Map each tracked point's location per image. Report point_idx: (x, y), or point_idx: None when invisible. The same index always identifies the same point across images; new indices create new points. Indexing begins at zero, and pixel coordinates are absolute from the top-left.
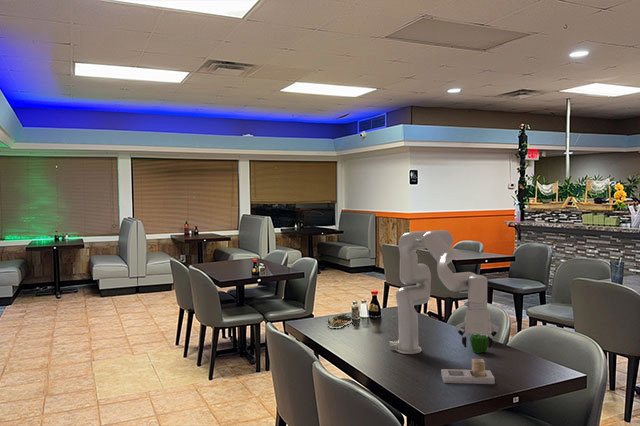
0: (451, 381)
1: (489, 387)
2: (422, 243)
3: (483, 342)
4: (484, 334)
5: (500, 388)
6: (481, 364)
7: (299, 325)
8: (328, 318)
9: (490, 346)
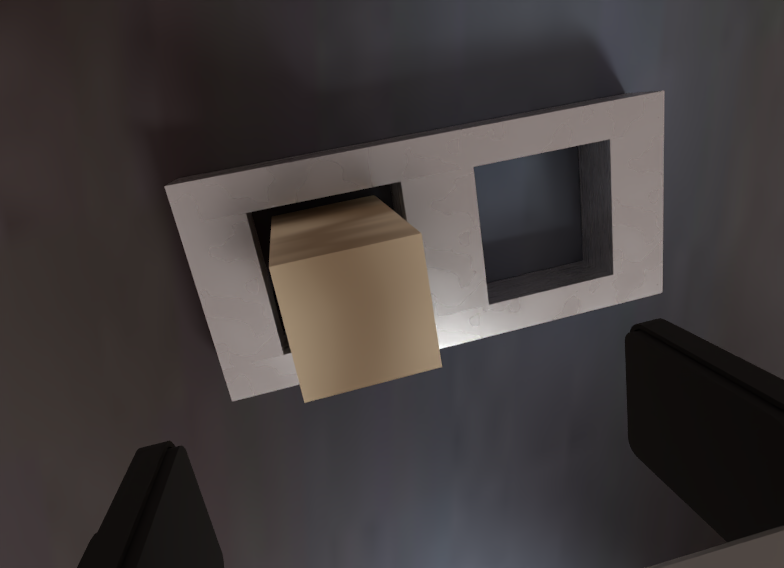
0: (571, 104)
1: (221, 67)
2: None
3: None
4: None
5: (105, 63)
6: (314, 248)
7: None
8: None
9: (133, 462)
